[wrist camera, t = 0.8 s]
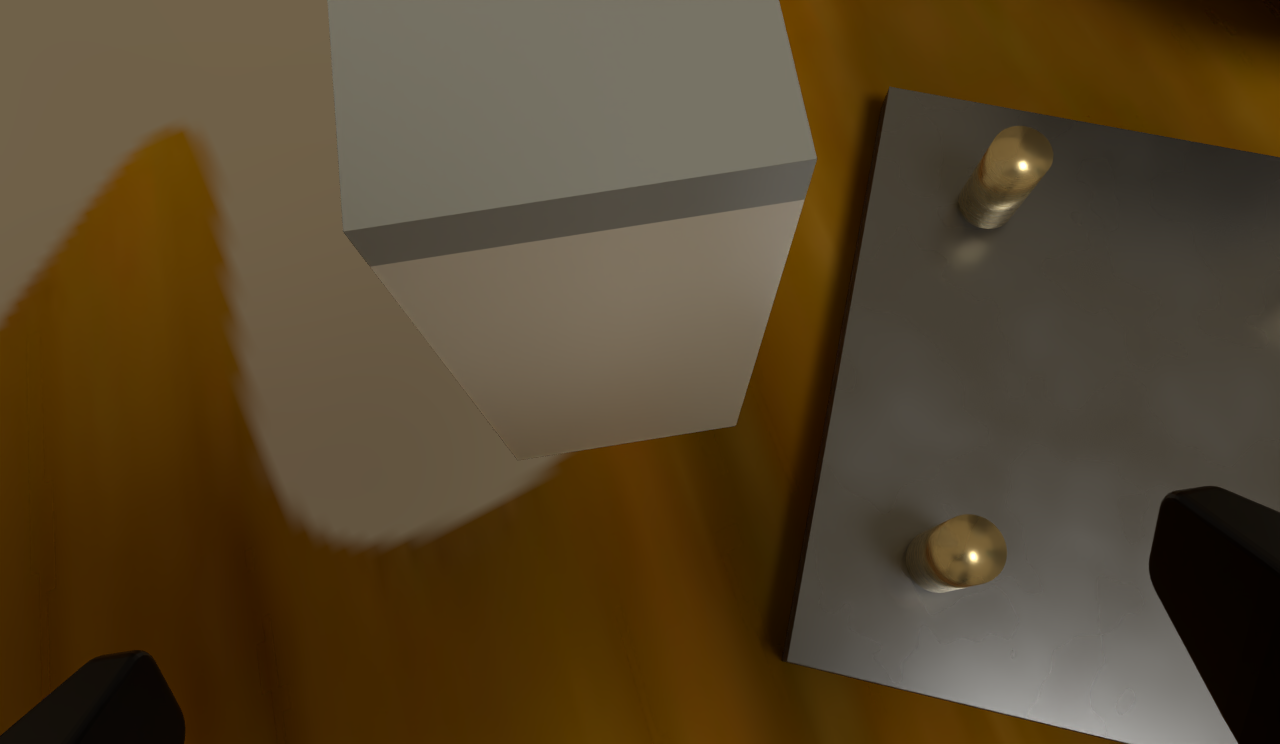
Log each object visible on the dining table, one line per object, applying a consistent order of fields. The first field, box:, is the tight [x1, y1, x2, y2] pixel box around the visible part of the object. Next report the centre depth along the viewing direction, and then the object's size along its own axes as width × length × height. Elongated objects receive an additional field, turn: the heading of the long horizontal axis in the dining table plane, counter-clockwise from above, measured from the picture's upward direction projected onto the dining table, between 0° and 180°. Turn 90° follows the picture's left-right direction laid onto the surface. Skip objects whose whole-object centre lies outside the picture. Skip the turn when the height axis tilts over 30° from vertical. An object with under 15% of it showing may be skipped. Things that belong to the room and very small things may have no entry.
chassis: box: [782, 87, 1280, 744], centre depth 21 cm, size 15×15×4 cm
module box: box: [328, 0, 817, 460], centre depth 18 cm, size 6×6×13 cm
